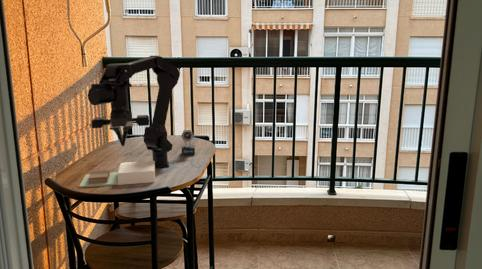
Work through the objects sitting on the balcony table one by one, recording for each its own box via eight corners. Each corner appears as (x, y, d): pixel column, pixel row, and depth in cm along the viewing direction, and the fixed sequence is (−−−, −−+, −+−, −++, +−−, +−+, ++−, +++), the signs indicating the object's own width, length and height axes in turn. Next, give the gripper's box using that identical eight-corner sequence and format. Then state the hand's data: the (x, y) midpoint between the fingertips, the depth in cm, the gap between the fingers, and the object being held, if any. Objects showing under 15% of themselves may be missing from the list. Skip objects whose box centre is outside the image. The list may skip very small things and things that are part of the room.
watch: (181, 156, 169) (180, 131, 167) (182, 151, 177) (181, 127, 175) (194, 156, 170) (194, 130, 167) (195, 151, 178) (194, 127, 175)
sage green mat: (86, 175, 145) (85, 174, 145) (121, 173, 147) (121, 171, 147) (79, 187, 133) (79, 186, 132) (118, 184, 135) (118, 183, 135)
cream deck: (121, 173, 147) (121, 162, 147) (155, 170, 150) (154, 160, 149) (118, 184, 135) (117, 173, 134) (154, 182, 137) (154, 170, 136)
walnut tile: (109, 169, 144) (110, 174, 144) (92, 170, 143) (92, 175, 143) (107, 176, 135) (107, 182, 136) (88, 178, 134) (88, 183, 135)
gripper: (85, 106, 127) (91, 153, 131) (146, 103, 130) (149, 149, 134) (92, 101, 138) (96, 145, 141) (147, 98, 141) (150, 141, 144)
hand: (123, 145), depth 140 cm, fingers closed
